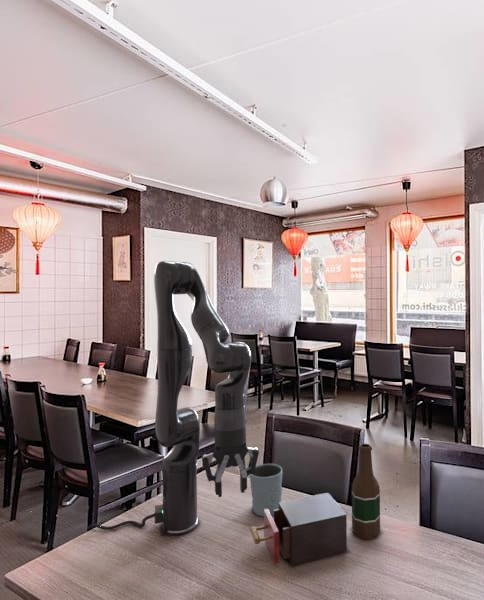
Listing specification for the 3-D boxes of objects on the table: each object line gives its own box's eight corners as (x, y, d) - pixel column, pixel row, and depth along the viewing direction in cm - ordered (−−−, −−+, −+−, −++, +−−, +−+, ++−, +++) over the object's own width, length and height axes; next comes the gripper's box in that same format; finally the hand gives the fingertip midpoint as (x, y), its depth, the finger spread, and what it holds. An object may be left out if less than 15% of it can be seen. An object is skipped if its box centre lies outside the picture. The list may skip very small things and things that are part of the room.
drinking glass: (280, 517, 122) (280, 477, 121) (246, 517, 122) (246, 477, 122) (284, 500, 132) (284, 463, 132) (252, 500, 132) (252, 463, 132)
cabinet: (292, 565, 100) (291, 526, 100) (278, 537, 112) (278, 502, 112) (346, 551, 105) (346, 514, 105) (328, 525, 117) (328, 492, 117)
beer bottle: (379, 541, 110) (378, 451, 109) (350, 537, 111) (349, 449, 111) (380, 524, 117) (380, 441, 117) (353, 522, 119) (353, 439, 119)
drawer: (257, 568, 98) (256, 536, 98) (248, 541, 108) (247, 512, 108) (326, 551, 104) (326, 521, 104) (311, 527, 115) (311, 500, 115)
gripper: (256, 416, 107) (256, 482, 107) (198, 423, 102) (199, 491, 102) (262, 425, 100) (263, 495, 100) (201, 433, 95) (202, 506, 95)
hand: (231, 493), depth 101 cm, fingers open, 5 cm apart
